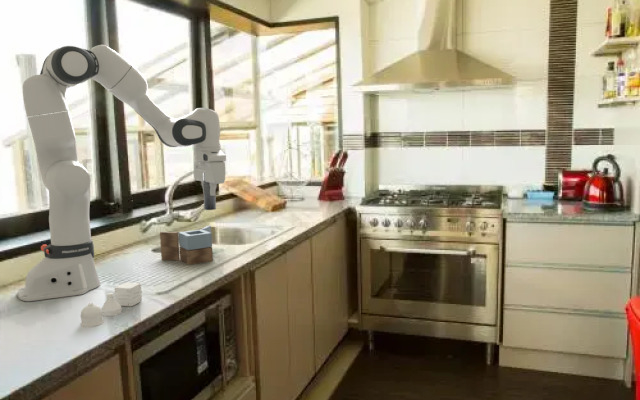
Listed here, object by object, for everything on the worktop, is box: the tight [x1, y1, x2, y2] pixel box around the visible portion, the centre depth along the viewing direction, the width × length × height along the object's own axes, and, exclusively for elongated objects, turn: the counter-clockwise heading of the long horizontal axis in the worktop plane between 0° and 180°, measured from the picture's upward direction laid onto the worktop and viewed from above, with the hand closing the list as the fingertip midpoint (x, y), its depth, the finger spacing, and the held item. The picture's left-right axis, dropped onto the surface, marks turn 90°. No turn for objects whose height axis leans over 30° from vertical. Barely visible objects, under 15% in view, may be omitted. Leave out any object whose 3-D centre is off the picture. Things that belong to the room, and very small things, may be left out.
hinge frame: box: [159, 231, 214, 266], centre depth 190 cm, size 14×14×10 cm
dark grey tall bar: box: [203, 173, 217, 211], centre depth 183 cm, size 4×4×13 cm
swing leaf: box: [178, 225, 213, 250], centre depth 193 cm, size 14×14×10 cm
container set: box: [80, 282, 143, 328], centre depth 136 cm, size 20×5×6 cm, turn 165°
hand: (209, 194), depth 183 cm, fingers closed on dark grey tall bar, 4 cm apart
